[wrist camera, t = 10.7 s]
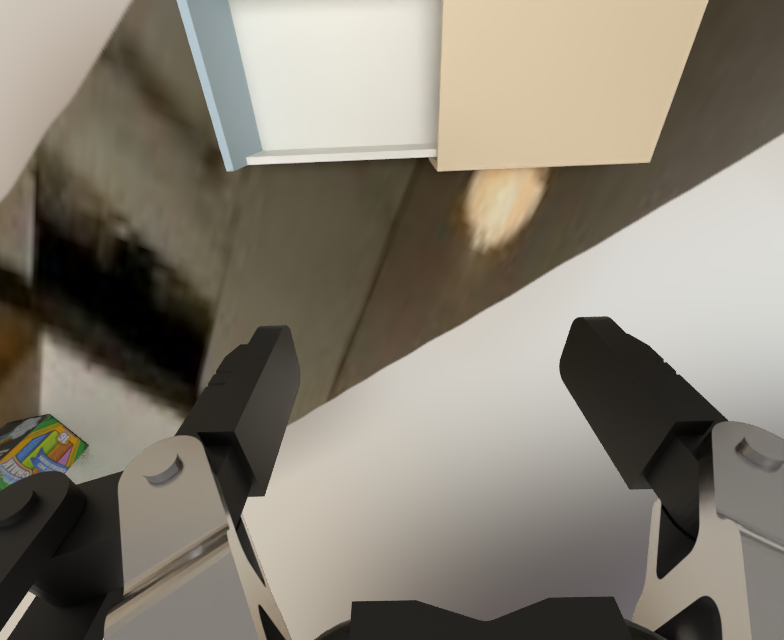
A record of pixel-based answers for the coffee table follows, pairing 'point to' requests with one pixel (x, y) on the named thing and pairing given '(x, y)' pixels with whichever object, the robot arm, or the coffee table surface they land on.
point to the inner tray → (318, 77)
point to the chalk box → (36, 448)
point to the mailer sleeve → (558, 80)
